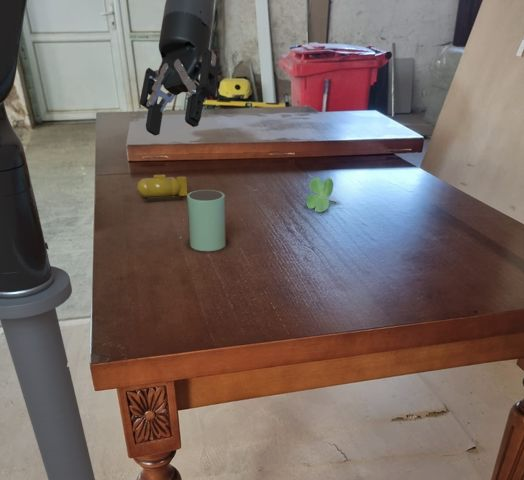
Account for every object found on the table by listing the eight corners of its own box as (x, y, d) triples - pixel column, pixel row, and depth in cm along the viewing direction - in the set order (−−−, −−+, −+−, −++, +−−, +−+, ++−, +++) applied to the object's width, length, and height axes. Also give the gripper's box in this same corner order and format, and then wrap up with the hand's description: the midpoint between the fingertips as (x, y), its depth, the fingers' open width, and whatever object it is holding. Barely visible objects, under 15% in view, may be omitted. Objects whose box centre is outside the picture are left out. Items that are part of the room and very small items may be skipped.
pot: (191, 252, 87) (188, 201, 83) (188, 238, 92) (185, 190, 88) (228, 250, 88) (227, 199, 84) (223, 236, 94) (221, 188, 89)
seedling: (326, 229, 111) (308, 219, 106) (317, 197, 114) (300, 186, 109) (354, 212, 107) (338, 201, 102) (345, 180, 109) (328, 167, 104)
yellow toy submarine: (138, 202, 109) (135, 178, 106) (138, 196, 112) (135, 173, 109) (188, 200, 111) (186, 176, 108) (186, 194, 114) (185, 171, 111)
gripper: (137, 24, 82) (121, 125, 81) (204, -5, 73) (187, 108, 72) (172, 52, 88) (158, 146, 87) (238, 28, 79) (222, 132, 78)
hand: (171, 128), depth 80 cm, fingers open, 8 cm apart
